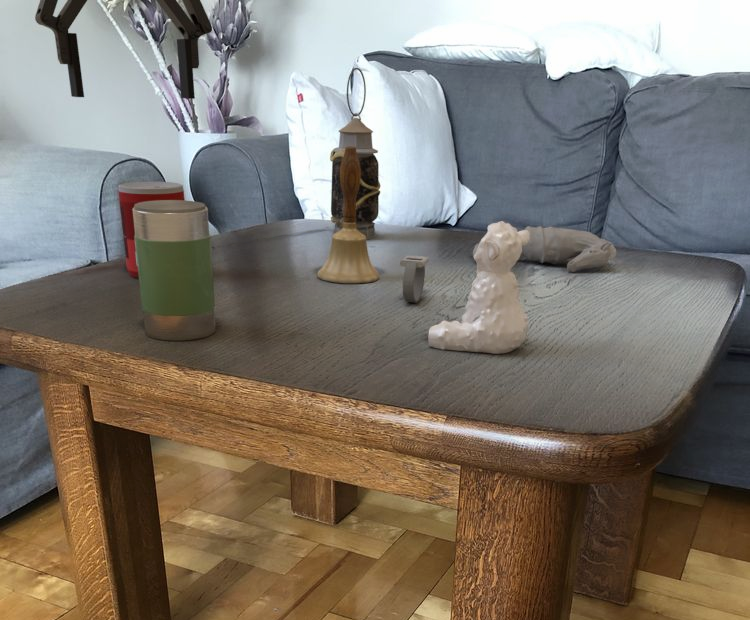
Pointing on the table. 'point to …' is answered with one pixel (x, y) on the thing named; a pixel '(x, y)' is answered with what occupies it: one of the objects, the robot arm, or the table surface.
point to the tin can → (175, 269)
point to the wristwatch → (413, 277)
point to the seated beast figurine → (490, 299)
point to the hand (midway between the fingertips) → (134, 98)
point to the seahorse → (566, 248)
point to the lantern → (369, 179)
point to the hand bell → (349, 233)
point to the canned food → (137, 194)
